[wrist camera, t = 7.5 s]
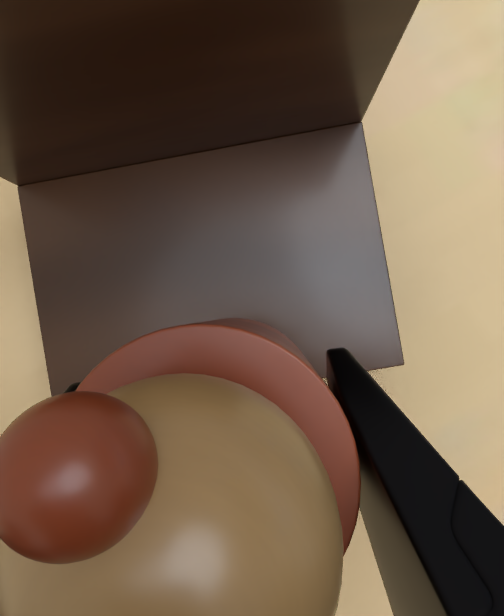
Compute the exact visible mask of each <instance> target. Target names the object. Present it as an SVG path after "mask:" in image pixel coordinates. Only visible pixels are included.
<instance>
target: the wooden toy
mask: <svg viewBox="0 0 504 616" xmlns="http://www.w3.org/2000/svg"><path fill="white" fill-rule="evenodd" d="M360 494H361V475H360V462H359V457H358V452H357V447H356V442H355V439H354V436H353V433H352V431H351V428H350V425H349V422H348V420H347V418H346V416H345V414H344V412H343V410H342V408H341V406H340V404H339V402H338V401H337V399H336V398H335V396H334V395H333V393H332V392H331V390H330V389H329V387H328V386H327V385H326V383H325V382H324V381H323V379H322V378H321V377H320V376H319V374H318V373H317V372H316V370H315V369H314V368H313V367H312V365H311V364H310V363H309V361H308V360H307V359H306V357H305V356H304V355H303V354H302V352H301V351H300V350H299V349H298V347H297V346H296V345H295V344H294V343H293V342H292V341H291V340H290V339H289V338H288V337H286V336H285V335H284V334H283V333H281V332H280V331H278V330H277V329H275V328H273V327H271V326H269V325H267V324H264V323H261V322H258V321H255V320H250V319H244V318H226V319H218V320H211V321H205V322H198V323H191V324H185V325H179V326H174V327H169V328H164V329H160V330H157V331H154V332H151V333H149V334H146V335H143V336H141V337H139V338H137V339H135V340H133V341H131V342H129V343H127V344H125V345H123V346H122V347H120V348H119V349H117V350H116V351H114V352H113V353H111V354H110V355H108V356H107V357H106V358H105V359H104V360H103V361H101V362H100V363H99V364H98V365H97V366H96V367H95V368H94V369H92V371H91V372H90V373H89V374H88V375H87V376H86V378H85V379H84V380H83V381H82V382H81V383H80V385H79V386H78V388H77V389H76V391H74V392H68V393H63V394H59V395H55V396H53V397H50V398H47V399H45V400H43V401H41V402H39V403H37V404H35V405H33V406H32V407H30V408H29V409H27V410H26V411H24V412H23V413H22V414H21V415H20V416H19V417H17V418H16V419H15V420H14V421H13V422H12V423H11V424H10V425H9V426H8V428H7V429H6V430H5V431H4V433H3V434H2V435H1V437H0V616H335V613H336V610H337V606H338V600H339V595H340V590H341V585H342V568H343V556H344V554H345V552H346V550H347V548H348V546H349V544H350V541H351V538H352V535H353V532H354V529H355V526H356V522H357V516H358V511H359V506H360Z"/></svg>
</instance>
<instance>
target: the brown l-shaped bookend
mask: <svg viewBox="0 0 504 616" xmlns="http://www.w3.org/2000/svg"><path fill="white" fill-rule="evenodd" d="M419 1H420V0H0V177H1V178H3V179H5V180H8V181H10V182H12V183H14V184H16V185H18V193H19V199H20V205H21V212H22V218H23V224H24V230H25V236H26V242H27V248H28V254H29V261H30V267H31V273H32V279H33V285H34V291H35V297H36V303H37V310H38V316H39V322H40V328H41V334H42V340H43V346H44V352H45V359H46V365H47V371H48V377H49V383H50V389H51V395H52V397H53V396H55V395H59V394H63V393H64V391H65V390H66V389H67V388H68V387H69V386H70V385H71V384H73V383H78V382H82V381H83V380H84V379H85V378H86V376H87V375H88V374H89V373H90V372H91V371H92V369H94V368H95V367H96V366H97V365H98V364H99V363H100V362H101V361H103V360H104V359H105V358H106V357H107V356H108V355H110V354H111V353H113V352H114V351H116V350H117V349H119V348H120V347H122V346H123V345H125V344H127V343H129V342H131V341H133V340H135V339H137V338H139V337H141V336H143V335H146V334H149V333H151V332H154V331H157V330H160V329H164V328H169V327H174V326H179V325H185V324H191V323H198V322H205V321H211V320H218V319H226V318H244V319H250V320H255V321H258V322H261V323H264V324H267V325H269V326H271V327H273V328H275V329H277V330H278V331H280V332H281V333H283V334H284V335H285V336H286V337H288V338H289V339H290V340H291V341H292V342H293V343H294V344H295V345H296V346H297V347H298V349H299V350H300V351H301V352H302V354H303V355H304V356H305V357H306V359H307V360H308V361H309V363H310V364H311V365H312V367H313V368H314V369H315V370H316V372H317V373H318V374H319V376H320V377H321V378H326V377H327V373H326V352H327V350H328V349H333V348H341V347H344V348H346V349H348V350H349V352H350V353H351V354H352V355H353V356H354V357H355V358H356V360H357V361H358V362H359V363H360V364H361V365H362V366H363V368H364V369H365V370H366V371H369V370H376V369H382V368H388V367H394V366H400V365H404V359H403V354H402V348H401V342H400V337H399V331H398V325H397V319H396V314H395V308H394V302H393V297H392V291H391V285H390V279H389V274H388V268H387V262H386V257H385V251H384V245H383V240H382V234H381V228H380V222H379V217H378V211H377V205H376V200H375V194H374V188H373V182H372V177H371V171H370V165H369V160H368V154H367V148H366V143H365V137H364V131H363V125H362V122H361V121H362V119H363V117H364V115H365V113H366V110H367V108H368V106H369V104H370V102H371V100H372V98H373V96H374V94H375V92H376V90H377V88H378V86H379V83H380V81H381V79H382V77H383V75H384V73H385V71H386V69H387V67H388V65H389V63H390V61H391V59H392V57H393V54H394V52H395V50H396V48H397V46H398V44H399V42H400V40H401V38H402V36H403V34H404V32H405V30H406V28H407V25H408V23H409V21H410V19H411V17H412V15H413V13H414V11H415V9H416V7H417V5H418V3H419Z"/></svg>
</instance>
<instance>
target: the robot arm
mask: <svg viewBox="0 0 504 616" xmlns="http://www.w3.org/2000/svg"><path fill="white" fill-rule="evenodd" d="M326 373H327V381H328V387H329V389H330V390H331V392H332V393H333V395H334V396H335V398H336V399H337V401H338V402H339V404H340V406H341V408H342V410H343V412H344V414H345V416H346V418H347V420H348V422H349V425H350V428H351V431H352V433H353V436H354V439H355V442H356V447H357V452H358V457H359V462H360V475H361V494H360V506H359V508H360V511H361V514H362V517H363V521H364V524H365V527H366V530H367V533H368V536H369V539H370V543H371V546H372V549H373V552H374V555H375V558H376V561H377V565H378V568H379V571H380V574H381V577H382V580H383V583H384V587H385V590H386V593H387V596H388V599H389V602H390V605H391V609H392V612H393V615H394V616H504V526H503V525H502V524H501V522H500V521H499V520H498V519H497V518H496V517H495V516H494V515H493V514H492V513H491V512H490V510H489V509H488V508H487V507H486V506H485V505H484V504H483V503H482V502H481V501H480V500H479V499H478V497H477V496H476V495H475V494H474V493H473V492H472V491H471V489H470V488H469V487H468V486H467V485H466V484H465V483H464V481H462V480H459V476H458V475H457V474H456V473H455V471H454V470H453V469H452V468H451V467H450V466H449V465H448V463H447V462H446V461H445V460H444V459H443V458H442V457H441V455H440V454H439V453H438V452H437V451H436V450H435V449H434V447H433V446H432V445H431V444H430V443H429V442H428V441H427V439H426V438H425V437H424V436H423V435H422V434H421V433H420V431H419V430H418V429H417V428H416V427H415V426H414V425H413V423H412V422H411V421H410V420H409V419H408V418H407V417H406V415H405V414H404V413H403V412H402V411H401V410H400V409H399V407H398V406H397V405H396V404H395V403H394V402H393V401H392V399H391V398H390V397H389V396H388V395H387V394H386V393H385V391H384V390H383V389H382V388H381V387H380V386H379V385H378V383H377V382H376V381H375V380H374V379H373V378H372V377H371V375H370V374H369V373H368V372H367V371H366V370H365V369H364V368H363V366H362V365H361V364H360V363H359V362H358V361H357V360H356V358H355V357H354V356H353V355H352V354H351V353H350V352H349V350H348V349H346V348H344V347H341V348H333V349H328V350H327V352H326ZM80 383H81V382H78V383H73V384H71V385H70V386H69V387H68V388H67V389H66V390H65V391H64V393H68V392H74V391H76V389H77V388H78V386H79V385H80Z"/></svg>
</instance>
